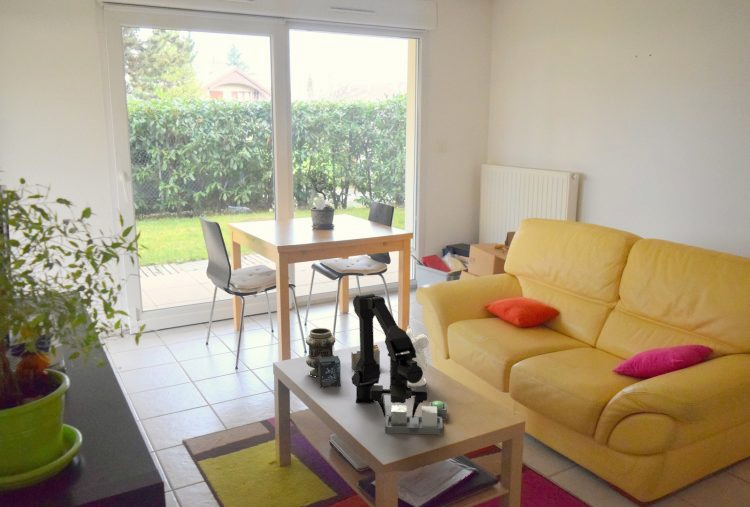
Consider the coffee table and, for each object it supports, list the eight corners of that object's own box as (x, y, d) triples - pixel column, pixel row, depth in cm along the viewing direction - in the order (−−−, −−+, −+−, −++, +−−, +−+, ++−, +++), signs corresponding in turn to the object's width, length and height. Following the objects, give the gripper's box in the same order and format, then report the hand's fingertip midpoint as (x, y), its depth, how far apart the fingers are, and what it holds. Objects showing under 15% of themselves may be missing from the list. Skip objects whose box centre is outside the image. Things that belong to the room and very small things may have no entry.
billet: (391, 428, 215) (391, 411, 214) (391, 421, 220) (391, 405, 219) (406, 429, 215) (406, 412, 214) (406, 422, 220) (406, 405, 218)
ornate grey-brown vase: (339, 369, 268) (338, 326, 265) (331, 380, 257) (330, 336, 253) (311, 367, 271) (310, 325, 267) (302, 378, 259) (300, 334, 256)
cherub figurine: (431, 386, 251) (433, 331, 246) (403, 392, 246) (404, 336, 241) (416, 374, 262) (417, 322, 257) (388, 380, 256) (388, 326, 252)
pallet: (385, 432, 214) (385, 414, 212) (386, 420, 222) (386, 402, 221) (442, 434, 212) (442, 415, 211) (441, 422, 221) (442, 404, 219)
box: (320, 388, 249) (320, 362, 247) (318, 382, 255) (317, 356, 253) (341, 386, 251) (340, 360, 249) (338, 380, 256) (338, 355, 254)
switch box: (429, 419, 223) (429, 409, 222) (428, 411, 229) (429, 402, 228) (446, 419, 223) (446, 409, 222) (446, 411, 229) (446, 402, 228)
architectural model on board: (377, 365, 273) (377, 343, 271) (379, 368, 270) (379, 345, 268) (351, 369, 270) (351, 346, 268) (353, 371, 267) (353, 349, 265)
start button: (432, 416, 224) (432, 405, 223) (432, 411, 228) (432, 400, 227) (443, 416, 224) (443, 405, 223) (443, 411, 227) (443, 401, 227)
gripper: (368, 381, 207) (368, 427, 210) (427, 383, 205) (427, 429, 208) (371, 368, 217) (371, 412, 221) (427, 369, 216) (427, 413, 219)
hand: (398, 417), depth 217 cm, fingers open, 9 cm apart
